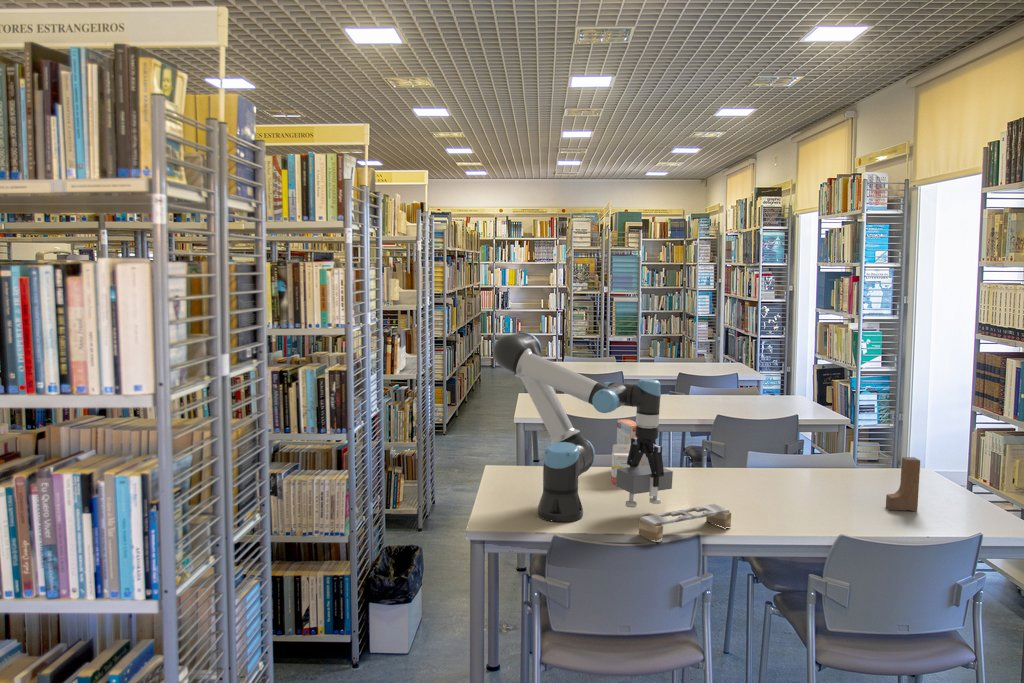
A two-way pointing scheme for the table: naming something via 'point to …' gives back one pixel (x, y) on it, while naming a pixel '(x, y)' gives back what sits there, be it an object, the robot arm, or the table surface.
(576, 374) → the robot arm
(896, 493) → the wooden block
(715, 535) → the table surface
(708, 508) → the keyhole board
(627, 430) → the cracker box
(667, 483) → the grey box orange tab
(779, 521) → the table surface
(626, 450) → the ink cartridge box
